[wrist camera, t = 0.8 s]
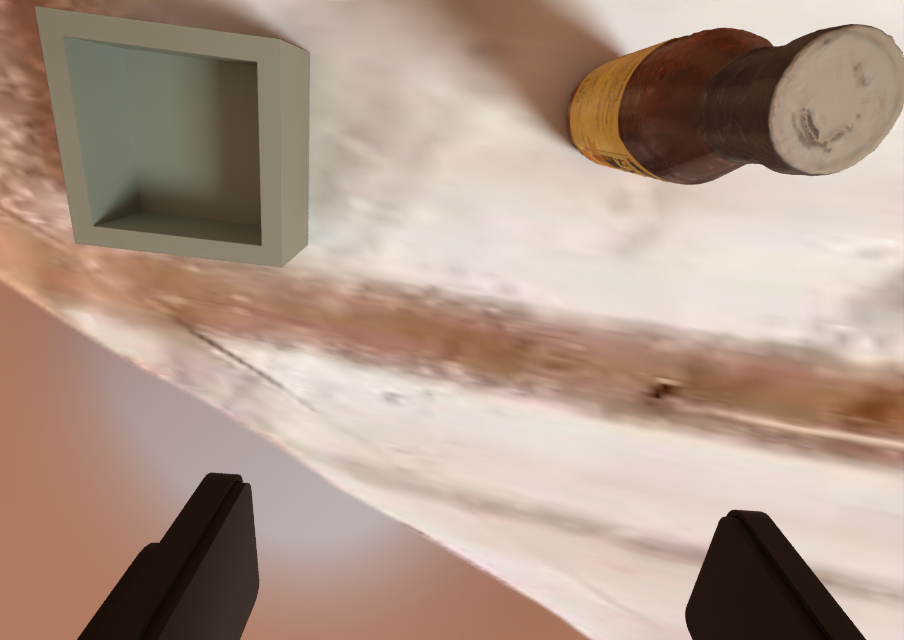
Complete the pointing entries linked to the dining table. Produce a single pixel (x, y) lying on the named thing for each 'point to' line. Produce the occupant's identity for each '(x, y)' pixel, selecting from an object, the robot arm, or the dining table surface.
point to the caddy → (180, 137)
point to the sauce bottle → (741, 104)
